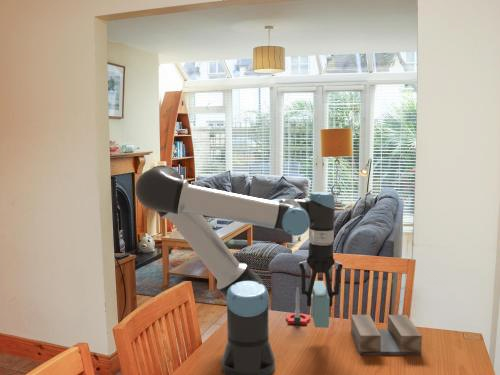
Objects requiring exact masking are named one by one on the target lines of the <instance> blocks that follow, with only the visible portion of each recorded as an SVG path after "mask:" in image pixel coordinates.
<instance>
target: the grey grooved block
mask: <svg viewBox="0 0 500 375" xmlns="http://www.w3.org/2000/svg"><path fill="white" fill-rule="evenodd" d="M350 333H351V336H352V338H353V340H354V343H355V346H356V349H357V350H358V352H359V355H360V356H363V355H364V356H367V355H368V356H369V355H371V356H422V343H423V342H422V340H423V336H422V334H421V332H420V331H419V330H418V328H417V327H416V325H414V323H413V322H412V321H411V319H410V317H409V316H408V315H407V314H388V315H387V328H386V329H383V328H382V329H381V328H380V329H379V328H377V326H376V324H375V322H374V320H373V318H372V317H371V315H370V314H351V315H350Z"/></svg>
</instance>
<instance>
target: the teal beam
mask: <svg viewBox="0 0 500 375" xmlns="http://www.w3.org/2000/svg"><path fill="white" fill-rule="evenodd" d="M312 294H313V297H314V302H313V317H312V319H313V324H314V328H320V329H321V328H323V329H325V328H326V329H327V328H328V329H329V328H330V325H329V324H330V307H329V302H330V298H329V295H328V290H327V286H326V283H325V281H324V280H315V282H314V286H313V290H312Z"/></svg>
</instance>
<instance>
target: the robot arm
mask: <svg viewBox="0 0 500 375" xmlns="http://www.w3.org/2000/svg"><path fill="white" fill-rule="evenodd" d="M134 187H135V190H134V191H135V195H136V198H137V200H138V201H139V203H140V204H141V205H142V206H143V207H144V208H147V209H148V210H151V211H155V212H156V213H157V214H158V215H159V217H160V218H161V219H165V220H169V221H170V222H171V224H172V225H173V226H174V227H175V229H176V230H177V231H178V233H179V234H180V235H181V236H182V237H183V239H184V240H185V241H186V243H187V244H188V245H189V246H190V248H191V249H192V250H193V252H194V253H195V254H196V255H197V256H198V257H199V259H200V261H201V262H202V263H203V265H205V267H207V269H208V271H209V272H210V273H211V275H212V276H213V277H214V278H215V279H216V282H217V283H216V289H217V290H218V291H219V293H220V294H221V296H223V297H224V298H223V299H225V303H226V322H227V323H226V325H227V326H226V327H227V328H226V329H227V332H226V333H227V343H226V344H225V349H224V352H223V355H222V357H221V370H222V373H223V374H225V375H271V374H272V373H274V371H275V370H276V369H275V368H276V358H275V355H274V353H273V350H272V345H271V343H270V340H269V339H270V338H269V336H270V334H269V330H270V329H269V304H270V303H269V302H270V297H269V292H268V288H267V287H266V286H265V284H264V281H263V280H262V278H261V277H260V275H258V274H257V273H255V272H254V271H253V270H252V269H251V267H249V265H248V264H247V263H245V262H239V260H238V259H237V258H236V257H235V255H234V254H233V253H232V251H231V250H230V249H229V247H228V246H227V245H226V244H225V243H224V241H223V240H222V238H221V237H220V236H219V235H218V233H217V232H216V231H215V230H214V229H213V227H212V226H211V224H210V223H209V222H208V220H207V219H206V218H205V217H204V216H206V217H211V218H215V219H223V220H226V221H231V222H237V223H243V224H248V225H253V226H258V227H263V228H267V229H268V228H269V229H273V230H277V231H278V230H279V231H284V232H285V233H287V234H289V235H291V236H295V237H297V236H301V235H303V234H305V233H306V232H307V231H308V241H309V243H308V256H307V258H306V260H303V261H299V262H298V267H299V269H300V291H301V295H304V296H306V306H307V307H309V317H310V318H313V302H314V297H313V294H312V290H313V286H314V282H315V281H316V277H317V274H319V273H322V274H324V279H325V286H326V289H327V292H328V295H329V298H330V302H329V308H330V307H332V306H333V300H334V299H333V298H334V296H339V294H340V285H341V284H340V283H341V271H342V270H343V263H342V262H340V261H336V260H335V259H334V241H335V238H334V236H335V230H334V229H335V209H336V203H335V201H336V200H335V195H334V194H333V193H332V192H328V191H312V192H311V193H310V194H309V198H282V197H281V198H274V199H271V200H270V199H265V198H259V197H255V196H249V195H245V194H244V195H243V194H241V193H234V192H231V191H230V192H229V191H224V190H220V189H216V188H215V189H213V188H210V187H209V188H208V187H204V186H199V185H194V184H190V183H189V182H188V180H187V179H184V178H182V176H181V174H180V172H178V170H177V169H175V168H173V167H171V166H168V165H164V164H163V165H156V166H152V167H151V168H150V169H148V170H145V171H144V172H143V173H142V174H141V175H140V176H139V177H138V179H137V181H136V183H135V186H134ZM307 265H308V266H309V267H310V269H311V274H310V278H309V282H308V286H307V289H306V268H307ZM333 266H334V281H333V282H334V283H333V289H332V283H331V278H330V272H329V271H330V270H331V269H332V267H333Z"/></svg>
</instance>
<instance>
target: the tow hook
mask: <svg viewBox="0 0 500 375" xmlns="http://www.w3.org/2000/svg"><path fill="white" fill-rule="evenodd" d="M299 291H300V290H299V287H296V293H295V310H294V312H293V313H289V314H287V315H286V317H285V320H286V321H287V325H294V326H295V325H297V326H308V322H310V320H311V316H310V315H308V314H306V313H301V310H300V292H299ZM306 315H307V316H306ZM301 318H303V319H301Z"/></svg>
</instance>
